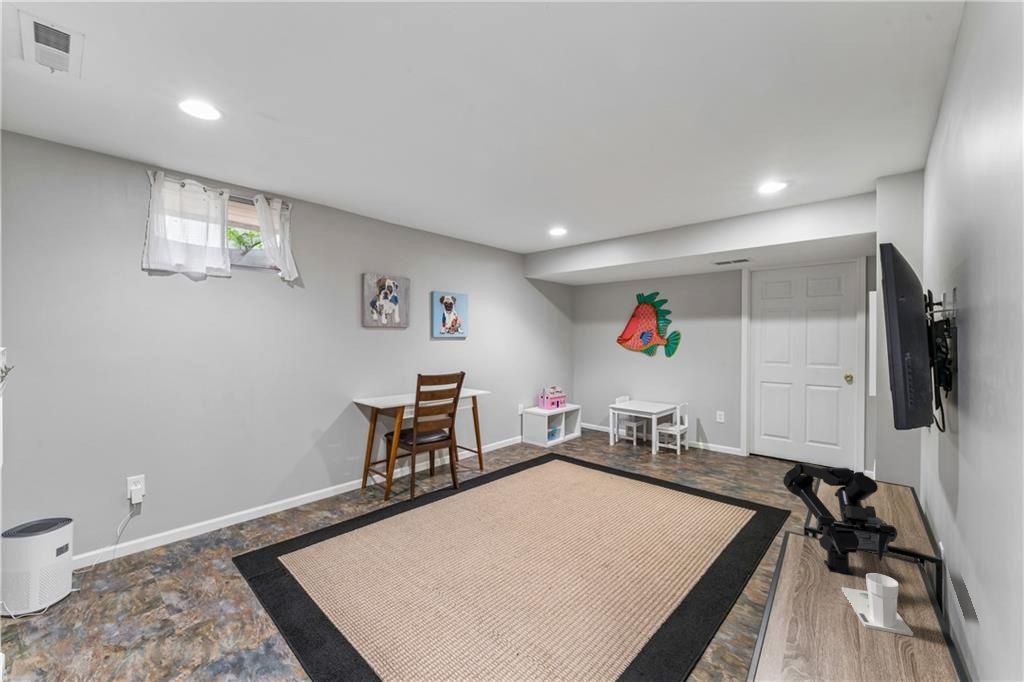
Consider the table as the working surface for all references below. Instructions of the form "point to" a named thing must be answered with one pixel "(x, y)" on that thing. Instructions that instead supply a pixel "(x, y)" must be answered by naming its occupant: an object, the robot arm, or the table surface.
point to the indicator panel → (862, 609)
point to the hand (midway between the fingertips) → (860, 557)
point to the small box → (870, 537)
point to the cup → (882, 599)
